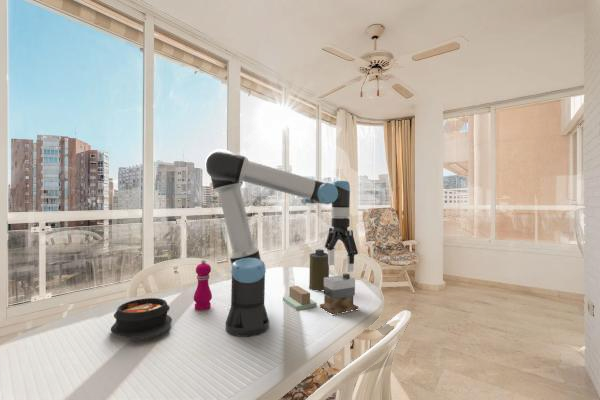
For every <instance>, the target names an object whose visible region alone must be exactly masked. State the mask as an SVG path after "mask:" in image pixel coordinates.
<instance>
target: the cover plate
mask: <svg viewBox="0 0 600 400" xmlns="http://www.w3.org/2000/svg"><path fill="white" fill-rule="evenodd" d="M324 286H325V287H327V288H329V289H331V290H338V289H345V288H352V287H355V288H356V278H354V277H352V276H351V274H350V273H342V274H341V275H340V274H339V275H331V276H329V277H324Z"/></svg>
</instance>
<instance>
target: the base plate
mask: <svg viewBox="0 0 600 400" xmlns="http://www.w3.org/2000/svg"><path fill="white" fill-rule="evenodd" d="M324 295H326V296H328V297H330V298H332V299H336V298H342V297H348V296H353V297H354V296H355V295H356V286H355V287H352V288H345V289H338V290H331V289H329V288H327V287H325V286H324V291H323V296H324Z"/></svg>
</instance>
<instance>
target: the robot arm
mask: <svg viewBox="0 0 600 400" xmlns="http://www.w3.org/2000/svg"><path fill="white" fill-rule="evenodd" d="M205 170H206V173H207V174H208V175H209V177H210V181H211V184H212V188H213V190H214V192H215V193H216V192H217V194H218V196H219V201H220V205H221V209H222V213H223V218H224V221H225V225H226V231H227V234H228V239H229V242H230V246H231V247H230V248H231V252H232V253H231V254H230V256H229V260H230V264H231V270H230V272H231V273H230V274H231V289H230V290H231V293H230V294H231V298H230V308H229V312H228V315H227V317H226V320H225V331H226V332H227V333H228V334H230V335H232V336H237V337H252V336H257V335H261V334H264V333H265V332H267V330H268V329H269V327H270V319H269V316H268V312H267V309H266V305H265V292H266V291H265V289H266V288H265V287H266V286H265V285H266V273H267V272H266V264H265V261H263V260H262V258H261V254H260V251H259V248H257V247H255V246H254V241H253V237H252V233H251V228H250V225H249V219H248V215H247V211H246V206H245V203H244V198H243V195H242V191H241V188H242V186H243V185H244V183H248V184H252V185H256V186H259V187H262V188H266V189H270V190H272V191H273V190H274V191H277V192H281V193H285V194H287V195H288V194H289V195H291V196H295V197H299V198H302V199H303V202H304V203H305V204H310V205H311V204H312V205H313V204H322V205H323V204H324V205H330V204H331V217H332V218H331V227H329V229H328V234H327V238H326V241H325V244H324V248H325V249H326V250H327V254H328V265H329V266H335V246H336V245H337V243H338V241H341V242H342V243H343V246H344V248H345V250H346V252H347V255H346V272H347V273H351V272H353V273H354V264H355V256H356V255H359V251H358V248H357V245H356V242H355V237H354V232H353V230H352V229H351V230H350V229H349V230H348V228H349V227H350V204H351V203H350V202H351V201H350V200H351V199H350V198H351V196H350V195H351V189H350V187H351V186H350V182H349V181H348V180H333V181H332V182H331V183H330V182H323V181H319V180H315V179H313V178H308V177H306V176H302V175H299V174H295V173H291V172H289V171H285V170H282V169H278V168H275V167H271V166H269V165H268V166H267V165H264V164H262V163H258V162H254V161H251V160H249V159H248V157H247V156H244V155H241V154H238V153H235V152H233V151H231V150H228V149H223V148H221V149H215V150H212V152H210V153H209V154H208V156H207V157H206V159H205Z"/></svg>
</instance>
